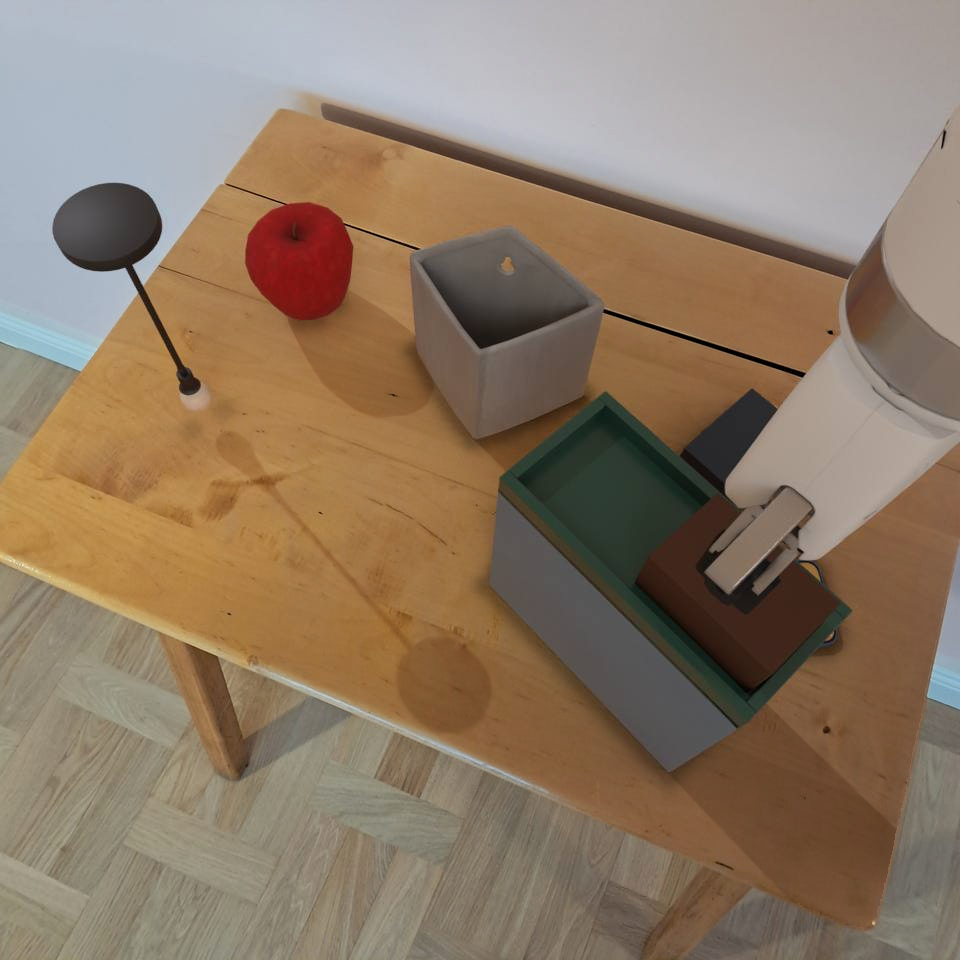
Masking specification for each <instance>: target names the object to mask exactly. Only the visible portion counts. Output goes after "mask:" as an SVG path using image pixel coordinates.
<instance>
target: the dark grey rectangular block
mask: <svg viewBox="0 0 960 960" xmlns="http://www.w3.org/2000/svg"><path fill="white" fill-rule="evenodd" d="M778 409H779V408H777V407H776V406H775V405H774V404H772V403H771V402H770V401H769V400H767V398H765V397H764V396H763V395H762V394H760V392H758V391H757V390H755V389H754V388H750V389H749V390H748V391H746V393H745V394H743V395H742V396H741V397H740V398H739V399H737V400H736V401H735V402H734V403H733V404H732V405H731V406H730V407H728V409H726V410H725V411H724V412H723V413H721V415H719V417H717V418H716V419H715V420H714V421H712V423H710V424H709V425H708V426H707V427H706V428H704V430H702V431H701V432H700V433H699V434H698V435H697V436H695V437H694V438H693V439H691V441H690V442H689V443H688V444H686V445H685V446H684V448H683V450H682V452H681V453H680V455H679V456H680V457H681V458H682V459H683V460H684V461H685V462H686V463H688V464H689V465H690V466H691V467H692V468H693V469H694V470H695V471H697V472H698V473H699V474H700V475H701V476H702V477H703V478H704V479H706V480H707V481H708V482H709V483H710V484H711V485H712V486H713V487H715V488H716V489H717V490H718V491H719V492H720V493H721V494H722V495H724V496H725V497H726V498H727V499H728V500H729V501H730V502H731V503H733V502H732V501H731V500H730V499H729V498H728V497H727V495H726V494H725V482H726V479H727V478H728V476H729V475H730V473H731V472H732V471H733V469H734V468H735V467H736V466H737V464H738V463H739V462H740V460H741V459H742V458H743V456H744V455H745V453H746V452H747V451H748V449H749V448H750V447H751V445H752V444H753V443H754V441H755V440H756V439H757V437H758V436H759V434H760V433H761V432H762V430H763V429H764V428H765V426H766V425H767V424H768V422H769V421H770V419H771V418H772V417H773V415H774V414H775V413H776V412H777V410H778ZM733 504H734V503H733ZM734 505H735V504H734ZM735 506H736V505H735ZM736 507H737V506H736Z"/></svg>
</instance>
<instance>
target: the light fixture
mask: <svg viewBox="0 0 960 960" xmlns="http://www.w3.org/2000/svg"><path fill="white" fill-rule="evenodd" d="M51 231H52V236H53V239H54V241H55V243H56V245H57V247H58V249H59V250H60V252H61V253H62V255H63V256H64V257H65V259H66V260H67V261H69V262H70V263H71V264H72V265H75V266H76V267H79V268H81V269H83V270H87V271H91V272H100V273H103V272H114V271H119V270H123V269H125V271H126V273H127V274H128V276H129V278H130V280H131V282H132V284H133V287H134V288H135V289H136V290H135V291H137V293H138V295H139V297H140V299H141V301H142V303H143V305H144V306H145V309H146V311H147V312H148V314H149V316H150V318H151V320H152V322H153V324H154V326H155V328H156V330H157V331H158V332H157V333H158V334H159V335H160V337H161V340H162V341H163V343H164V345H165V347H166V349H167V351H168V353H169V355H170V357H171V358H172V360H173V362H174V364H175V366H176V373H175V376H176V378H177V380H178V381H179V384H178V391H179V395H178V396H179V397H178V398H179V400H180V403H181V406H182V407H184V408H185V409H186V410H187V411H189V412H192V413H199V412H203V411H205V410H206V409H208V408H209V406H210V405H211V403H212V401H213V400H212V399H213V394H212V390H211V389H210V387H209V386H208V385H207V384H206V383H203V382H202V381H201V380H200V379H198V378H197V377H195V376H194V374H193V371H192V369H191V368H189V367H187V366H185V365H184V364H183V362H182V360H181V358H180V356H179V354H178V352H177V350H176V348H175V346H174V344H173V342H172V340H171V338H170V336H169V333H168V332H167V330H166V328H165V326H164V325H163V323H162V321H161V318H160V316H159V315H158V313H157V311H156V309H155V306H154V304H153V303H152V301H151V299H150V296H149V294H148V293H147V291H146V289H145V287H144V285H143V283H142V281H141V279H140V277H139V276H138V275H139V274H138V273H137V271H136V269H135V266H133V265H135V264H137V263H139V262H140V261H142V260H143V259H145V258H146V257H147V256H148V255H150V254H151V252H152V251H154V249H155V248H156V246H157V245H158V243H159V242H160V240H161V237H162V233H163V219H162V216H161V214H160V211H159V209H158V206H157V204H156V202H155V201H154V199H153V198H152V197H151V195H150V194H149V193H148V192H146V191H144V189H142V188H140V187H138V186H136V185H132V184H129V183H123V182H104V183H98V184H94V185H91V186H88V187H86V188H83V189H81V190H79V191H77V192H76V193H74V194H72V195H71V196H69V197H68V198H67V200H65V201H64V202H63V203H62V204H61V205H60V207H59V208H58V210H57V211H56V213H55V215H54V217H53V221H52V230H51Z"/></svg>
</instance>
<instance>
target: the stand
mask: <svg viewBox="0 0 960 960" xmlns="http://www.w3.org/2000/svg"><path fill="white" fill-rule="evenodd" d="M495 506H496V508H495V515H494V517H495V518H494V528H493V537H492V547H491V549H492V550H491V559H490V569H489V570H490V571H489V578H488V579H489V580H488V586H489V587H490V588H491V589H492V590H493V591H494V592H495V593H496V594H497V595H498V596H499V597H500V598H501V599H502V600H503V602H505V604H506V605H508V606H509V607H510V609H511V610H512V611H513V612H514V613H515V614H516V615H517V616H518V617H519V618H520V619H521V620H522V621H523V622H524V623H525V624H526V626H528V628H529V629H531V631H532V632H533V633H534V634H535V635H536V636H537V637H538V638H539V639H540V640H541V641H542V642H543V644H545V645H546V646H547V647H548V648H549V650H550V651H551V652H553V654H554V655H555V656H556V657H557V658H558V659H559V660H560V661H561V662H562V663H563V664H564V665H565V666H566V668H567V669H568V670H569V671H571V673H572V674H573V675H574V676H575V677H576V678H577V679H578V680H579V681H580V682H581V683H582V684H583V685H584V686H585V687H586V688H587V689H588V691H590V692H591V694H593V695H594V697H595V698H596V699H597V700H598V701H599V702H600V703H601V704H602V706H604V707H605V708H606V709H607V711H609V712H610V713H611V714H612V715H613V716H614V717H615V718H616V720H618V722H619V723H620V724H621V725H622V726H623V727H624V728H625V729H626V731H628V732H629V733H630V734H631V736H633V737H634V738H635V740H637V742H638V743H640V745H641V746H642V747H643V748H644V749H645V750H646V751H647V752H648V753H649V754H650V755H651V756H652V757H653V758H654V759H655V761H657V762H658V763H659V765H660V766H661V767H662V768H663V769H664V770H665V771H666V772H667V773H668V774H669V773H671V772H673V771H675V770H676V769H678V768H679V767H681V766H683V765H684V764H685V763H687V762H689V761H690V760H692V759H693V758H695V757H696V756H698V755H700V754H701V753H703V752H704V751H706V750H707V749H710V748H711V747H712V746H714V745H715V744H717V743H718V742H720V741H722V740H723V739H725V738H726V737H728V736H729V735H731V734H732V733H735V732H736V731H737V730H738V729H737V728H736V727H735V726H734V725H733V724H732V723H731V722H730V721H729V720H728V719H727V718H726V717H725V716H724V715H723V714H722V713H721V712H720V711H719V710H718V709H717V708H716V707H715V706H714V705H713V704H712V703H711V702H709V701H708V700H707V699H706V698H705V697H704V696H703V695H702V694H701V693H700V692H699V691H698V690H697V689H696V688H695V687H694V686H693V685H692V684H691V683H690V682H689V681H688V680H687V679H686V678H685V677H684V676H683V675H682V674H681V673H680V672H679V671H678V670H677V669H676V668H675V667H674V666H673V665H672V664H671V663H670V662H669V661H668V660H667V659H666V658H665V657H664V656H663V655H662V654H661V653H660V652H659V651H658V650H657V649H656V648H655V647H654V646H653V645H652V644H651V643H650V642H649V641H648V640H647V639H646V638H645V637H644V636H643V635H642V634H641V633H640V632H639V631H638V630H637V629H636V628H635V627H634V626H633V625H632V624H631V623H630V622H629V621H628V620H627V619H626V618H625V617H624V616H623V615H622V614H621V613H620V612H619V611H618V610H617V609H616V608H615V607H614V606H613V605H612V604H611V603H610V602H609V601H608V600H607V599H606V598H605V597H604V596H603V595H602V594H601V593H600V592H599V591H598V590H597V589H596V588H595V587H594V586H593V585H592V584H591V583H590V582H589V581H588V580H587V579H586V578H585V577H584V576H583V575H581V574H580V573H579V572H578V571H577V570H576V569H575V568H574V567H573V566H572V565H571V564H570V563H569V562H568V561H567V560H566V559H565V558H564V557H563V556H562V555H561V554H560V553H559V552H558V551H557V550H556V549H555V548H554V547H553V546H552V545H551V544H550V543H549V542H548V541H547V540H546V539H545V538H544V537H543V536H542V535H541V534H540V533H539V532H538V531H537V530H536V529H535V528H534V527H533V526H532V525H531V524H530V523H529V522H528V521H527V520H526V519H525V518H524V517H523V516H522V515H521V514H520V513H519V512H518V511H517V510H516V509H515V508H514V507H513V506H512V505H511V504H510V503H509V502H508V501H507V500H506V499H505V498H504V497H503V496H502V495H501V494H500V493H499V492H498V491H497V498H496V505H495Z"/></svg>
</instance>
